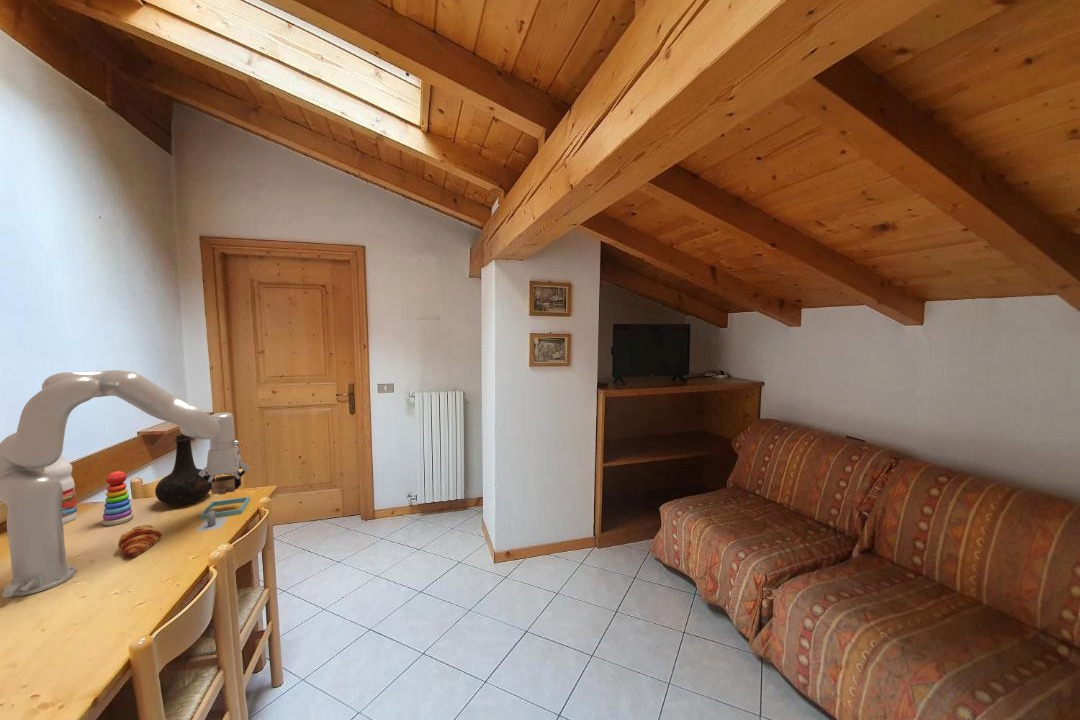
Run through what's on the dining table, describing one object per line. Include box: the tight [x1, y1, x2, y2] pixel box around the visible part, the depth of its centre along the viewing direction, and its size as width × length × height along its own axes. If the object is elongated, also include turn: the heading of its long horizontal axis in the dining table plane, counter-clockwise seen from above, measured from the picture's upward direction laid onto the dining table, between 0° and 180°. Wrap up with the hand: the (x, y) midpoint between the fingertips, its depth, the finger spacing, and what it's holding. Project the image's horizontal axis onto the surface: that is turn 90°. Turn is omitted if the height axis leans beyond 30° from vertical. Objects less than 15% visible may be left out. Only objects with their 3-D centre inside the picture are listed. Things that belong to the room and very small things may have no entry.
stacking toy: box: [101, 470, 134, 526], centre depth 147 cm, size 8×8×19 cm
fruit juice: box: [44, 454, 78, 524], centre depth 146 cm, size 9×9×28 cm
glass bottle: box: [154, 433, 211, 506], centre depth 164 cm, size 18×18×28 cm
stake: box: [195, 510, 229, 533], centre depth 145 cm, size 9×7×6 cm
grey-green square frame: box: [199, 496, 251, 521], centre depth 156 cm, size 13×13×2 cm
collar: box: [211, 474, 237, 496], centre depth 155 cm, size 7×8×4 cm
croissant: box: [117, 524, 163, 558], centre depth 131 cm, size 21×10×8 cm, turn 36°
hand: (226, 488), depth 156 cm, fingers closed on collar, 6 cm apart
